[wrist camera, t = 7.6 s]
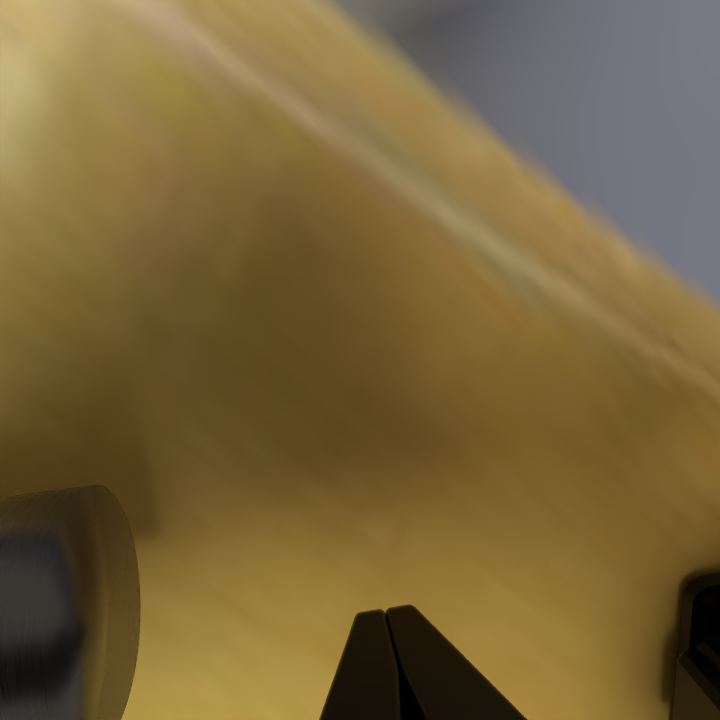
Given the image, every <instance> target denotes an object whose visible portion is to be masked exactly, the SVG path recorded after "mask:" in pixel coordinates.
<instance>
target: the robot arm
mask: <svg viewBox="0 0 720 720" xmlns="http://www.w3.org/2000/svg"><path fill="white" fill-rule="evenodd" d="M319 720H527V719H526V718H525V717H524V716H523V715H522V714H521V713H520V712H519V711H518V710H517V709H516V708H515V707H514V706H513V705H512V704H511V703H510V702H509V701H508V700H507V699H506V698H505V697H504V696H503V695H502V694H501V693H500V692H499V691H498V690H497V689H496V688H495V687H494V686H493V685H492V684H491V683H490V682H489V681H488V680H487V679H486V678H485V677H484V676H483V675H482V674H481V673H480V672H479V671H478V670H477V669H476V668H475V667H474V666H473V665H472V664H471V663H470V662H469V661H468V660H467V659H466V658H465V657H464V656H463V655H462V654H461V653H460V652H459V651H458V650H457V649H456V648H455V647H454V646H453V645H452V644H451V643H450V642H449V641H448V640H447V639H446V638H445V637H444V636H443V635H442V634H441V633H440V632H439V631H438V630H437V629H436V628H435V627H434V626H433V625H432V624H431V623H430V622H429V621H428V620H427V619H426V618H425V616H424V615H423V614H422V613H421V612H420V611H419V610H418V609H417V608H416V607H414V606H413V605H402V606H396V607H390V608H388V609H387V610H386V612H384V611H383V610H381V609H378V610H371V611H365V612H360V613H358V614H357V615H356V616H355V618H354V621H353V624H352V627H351V630H350V633H349V636H348V638H347V641H346V644H345V647H344V650H343V653H342V656H341V659H340V661H339V664H338V667H337V670H336V673H335V676H334V679H333V681H332V684H331V687H330V690H329V693H328V696H327V699H326V702H325V704H324V707H323V710H322V713H321V716H320V719H319ZM672 720H720V573H718V574H712V575H706V576H700V577H697V578H695V579H693V580H692V581H690V582H689V583H688V584H687V586H686V587H685V588H684V592H683V598H682V610H681V623H680V636H679V649H678V661H677V667H676V680H675V693H674V706H673V719H672Z"/></svg>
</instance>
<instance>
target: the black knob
mask: <svg viewBox="0 0 720 720" xmlns="http://www.w3.org/2000/svg"><path fill="white" fill-rule="evenodd" d="M139 633H140V584H139V572H138V563H137V557H136V551H135V546H134V541H133V537H132V533H131V530H130V526H129V523H128V521H127V518H126V515H125V513H124V511H123V509H122V507H121V505H120V503H119V501H118V500H117V499H116V497H115V496H114V495H113V494H112V493H111V492H110V491H109V490H108V489H106V488H105V487H103V486H99V485H90V486H83V487H76V488H69V489H61V490H54V491H47V492H40V493H33V494H25V495H18V496H11V497H4V498H0V720H121V718H122V716H123V713H124V710H125V707H126V704H127V701H128V698H129V694H130V691H131V686H132V682H133V678H134V672H135V667H136V661H137V653H138V644H139Z"/></svg>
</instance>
